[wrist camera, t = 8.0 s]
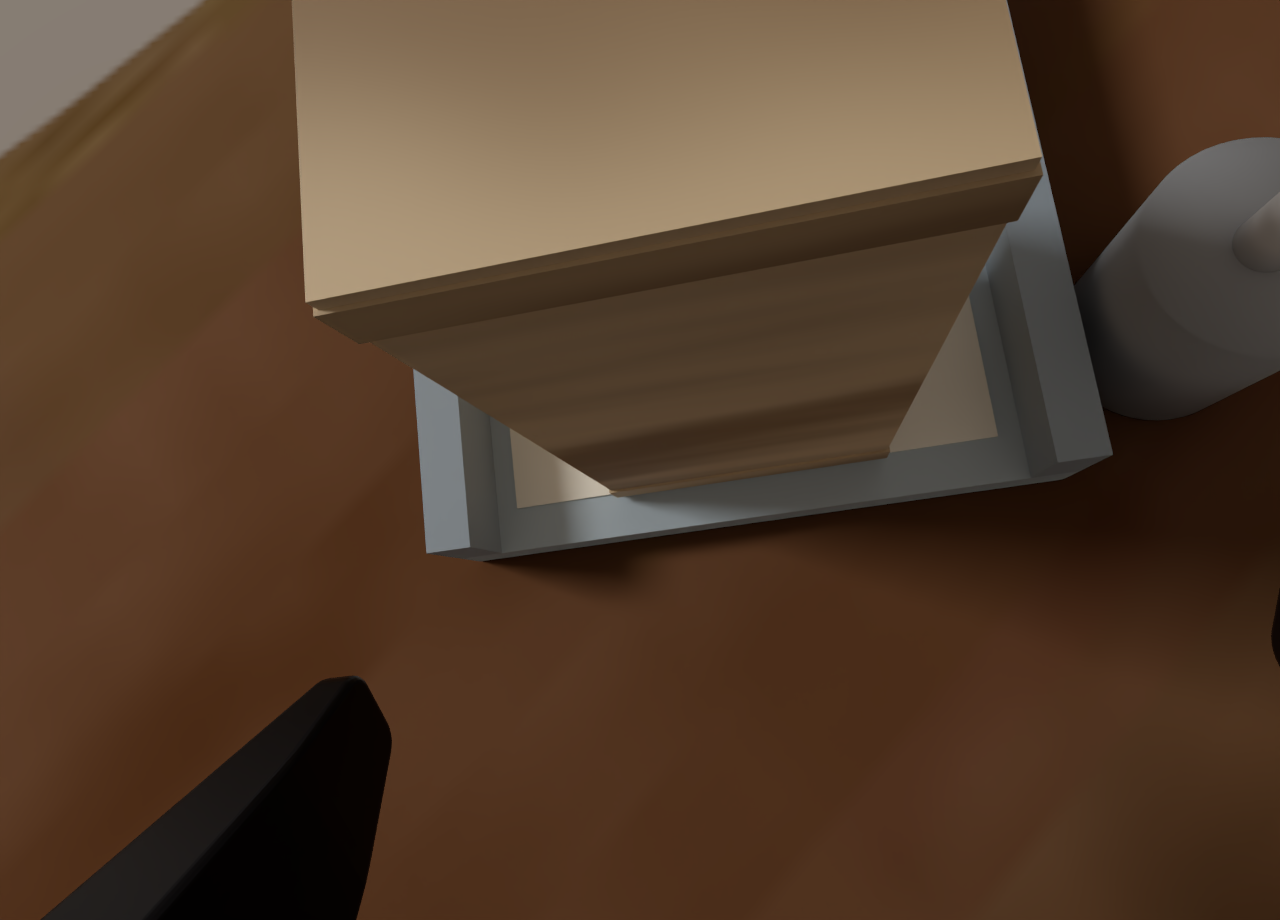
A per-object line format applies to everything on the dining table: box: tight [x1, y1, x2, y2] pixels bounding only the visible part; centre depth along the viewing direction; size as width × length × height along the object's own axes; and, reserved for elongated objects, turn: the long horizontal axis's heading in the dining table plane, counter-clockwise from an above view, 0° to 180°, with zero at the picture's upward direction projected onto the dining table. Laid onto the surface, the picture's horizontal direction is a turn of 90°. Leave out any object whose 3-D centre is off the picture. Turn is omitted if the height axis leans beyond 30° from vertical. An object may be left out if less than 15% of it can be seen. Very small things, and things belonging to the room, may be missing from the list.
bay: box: [413, 0, 1280, 561], centre depth 19 cm, size 16×18×6 cm
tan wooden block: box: [292, 0, 1043, 498], centre depth 14 cm, size 5×6×13 cm
